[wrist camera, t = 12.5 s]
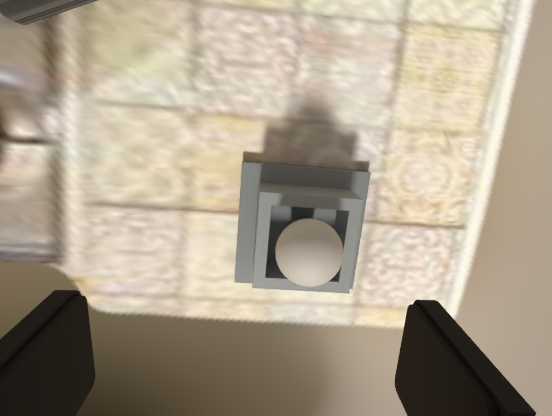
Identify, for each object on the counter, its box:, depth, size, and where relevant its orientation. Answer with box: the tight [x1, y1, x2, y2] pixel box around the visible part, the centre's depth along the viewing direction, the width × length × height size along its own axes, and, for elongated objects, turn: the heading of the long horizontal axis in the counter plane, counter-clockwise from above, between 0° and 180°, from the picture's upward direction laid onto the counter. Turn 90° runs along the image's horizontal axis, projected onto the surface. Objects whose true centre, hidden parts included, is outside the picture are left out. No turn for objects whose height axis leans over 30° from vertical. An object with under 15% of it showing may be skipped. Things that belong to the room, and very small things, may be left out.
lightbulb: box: [275, 217, 343, 287], centre depth 34 cm, size 6×6×11 cm
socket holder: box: [235, 161, 370, 293], centre depth 38 cm, size 14×14×6 cm
